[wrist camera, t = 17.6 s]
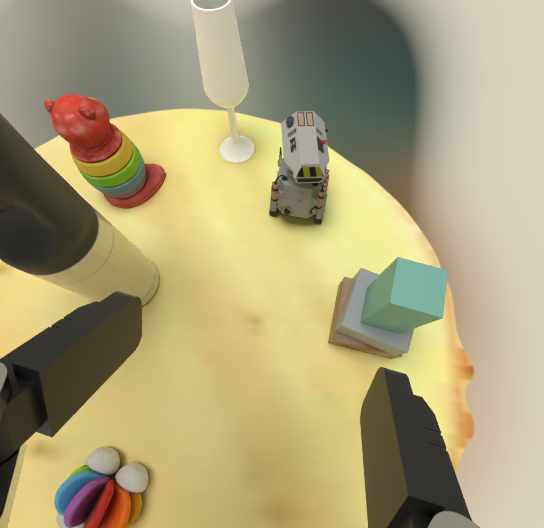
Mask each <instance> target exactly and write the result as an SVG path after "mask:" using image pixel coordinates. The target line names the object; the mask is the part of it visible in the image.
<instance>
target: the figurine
mask: <svg viewBox="0 0 544 528" xmlns="http://www.w3.org/2000/svg"><path fill="white" fill-rule="evenodd" d="M281 125H282V139H283V153H284V158H283V159H282V152H281V147H280V155H279V160H278V167H279V166H280V168H279V171H278V174H277V179H276V181H274V182H272V190H271V202H270V212H269V215H272V216H276V215H277V211H278V209H279V210H280V212H281V213H282V214H285V215H290V216H296V217H301V218H308V217H310V216H312V215H314V214H315V219H314V223H318V224H321V221H322V216H323V211H324V207H325V203H326V197H327V193H326V192H327V186H328V181H329V174H328V173H329V170H328V169H326V167H327V164H328V162H329V155H328V147H327V139H326V132H327V131H328V130H327V129H325V124H324V121H323V120H322V119H321V118H320V117H318V116H317V115H316V114H315V113H314V112H313V111H311V112H295V113H294V114H293V115H291V116H290V117H288V118H287V119H286V120H284V121H283V122H282V123H281Z"/></svg>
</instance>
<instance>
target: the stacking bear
mask: <svg viewBox="0 0 544 528" xmlns="http://www.w3.org/2000/svg"><path fill="white" fill-rule="evenodd" d="M44 105H45V108H46V110H47V111H48V112H50V114H51V120H52V124H53V126H54V128H55V130H56V131H57V132H58V133H59V135H60V136H61V137H63V138H64V139H65V140H66V141H68V142H69V143H70V150H71V155H72V158H73V160H74V162H75V164H76V165H77V167H78V169H79V171H80V173H81V174H82V175H83V177H84V178H85V179H86V180H87V181H88V182H89V183H90V184H91V185H92V186H93V187H95V188H96V189H98V190H99V191H101V192H102V193H104V196H105V197H106V199H107V200H108V201H109V202H110V203H111V204H112V205H114V206H117V207H121V208H130V207H134V206H137V205H139V204H141V203H143V202H144V201H146V200H147V199H149V198H150V197H151V196H152V195H153V194H154V193H155V192H156V191H157V190H158V189H159V187H160V186H161V184H162V183H163V181H164V179H165V175H166V174H165V172H164V169H163V168H162V167H161V166H159V165H156V164H144V161H143V159H142V156H141V154H140V152H139V150H138V149H137V147H136V146H135V145H134V143H133V142H132V141H131V140H130V139H129V138H128V137H127V136H126V135H125V134H124V133H123V132H122V131H121V130H119V129H118V128H117V127H116V126H115V125H113V124H111V123H110V121H109V115H108V112H107V109H106V108H105V106H104V105H103V104H102V103H101V102H100V101H98V100H96V99H94V98H88V97H85V96H83V95H79V94H66V95H63V96H61V97H59V98H58V99H57V100H56V101H55V102H54V101H52V100H46V101H45V104H44Z"/></svg>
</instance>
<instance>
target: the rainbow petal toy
mask: <svg viewBox="0 0 544 528" xmlns="http://www.w3.org/2000/svg"><path fill="white" fill-rule="evenodd" d="M86 464H87V465H84V466H82V467H80V468H78V469H77V470H75V471H74V472H73V473H72V474H71V475H70V476H69V478H68V479H67V480H66V481H65V482H64V483H63V484H62V485H61V486H60V488H59V489H58V491H57V493H56V496H55V508H56V510H57V512H58V513H57V523H58V526H59V527H60V528H128V527H129V526H131V525H132V524H133V523H134V522H135V521H136V520H137V518H138V517H139V515H140V512H141V509H142V497H141V494H140V492H143V491H145V489H146V488H147V484H148V472H147V470H146V468H145V467H144V466H142V465H141V464H138V463H130V464H127V465H125V466H123V467H122V468H121V469H120V470H119V471H118V468H119V465H120V457H119V454H118V453H117V451H116V450H114V449H112V448H110V447H101V448H98V449H96V450H95V451H93V452H92V453H91V454H90V455H89V456H88V457H87V459H86ZM117 471H118V472H117ZM116 472H117V474H116V476H115V481H116V482H115V481H114V480H110V478H111V476H112V474H114V473H116Z"/></svg>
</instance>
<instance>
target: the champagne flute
mask: <svg viewBox="0 0 544 528" xmlns="http://www.w3.org/2000/svg"><path fill="white" fill-rule="evenodd" d="M191 6H192V13H193V19H194V26H195V32H196V39H197V46H198V53H199V59H200V66H201V72H202V79H203V86H204V91H205V93H206V95H207V97H208V98H209V99H210V100H211V101H212V102H214V103H215V104H217V105H218V106H221V107H224V108H227V113H228V119H229V124H230V130H231V135H232V136H230V137H228V138H226V139H225V140H224V141H223V142H222V144H221V145H220V154H221V156H222V157H223V158H224V159H225V160H227V161H229V162H233V163H240V162H243V161H246V160H248V159H249V158H250V157H251V156H252V155H253V153H254V150H255V146H254V143H253V142H252V140H251V139H249V138H248V137H246V136H243V135H238V131H237V125H236V119H235V112H234V107H235V106H236V105H238V104H239V103H240V102H241V101H242V100H243V99H244V98H245V96H246V94H247V92H248V87H249V83H248V77H247V72H246V67H245V62H244V57H243V52H242V47H241V41H240V37H239V31H238V26H237V21H236V16H235V11H234V6H233V1H232V0H191Z"/></svg>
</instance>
